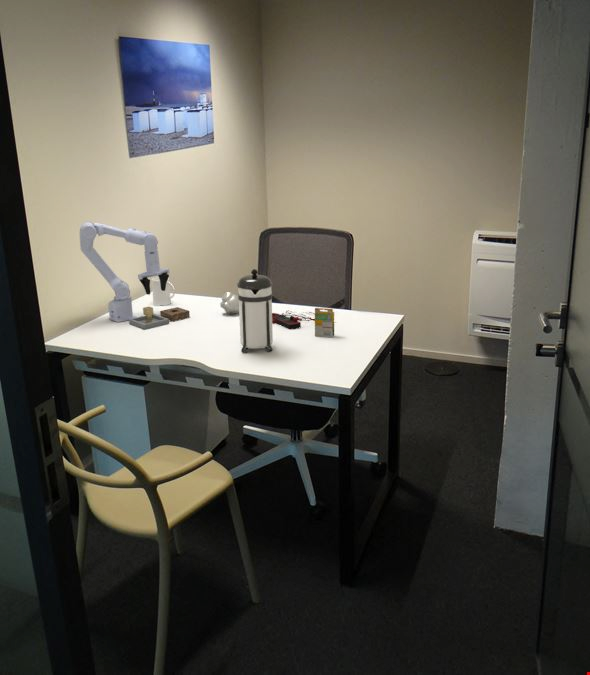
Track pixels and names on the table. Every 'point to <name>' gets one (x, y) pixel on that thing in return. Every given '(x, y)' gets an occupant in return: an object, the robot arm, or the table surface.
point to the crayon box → (324, 322)
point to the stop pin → (148, 314)
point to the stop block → (175, 313)
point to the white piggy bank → (230, 303)
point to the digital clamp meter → (288, 320)
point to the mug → (161, 292)
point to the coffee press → (255, 311)
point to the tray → (155, 322)
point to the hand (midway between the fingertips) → (155, 292)
